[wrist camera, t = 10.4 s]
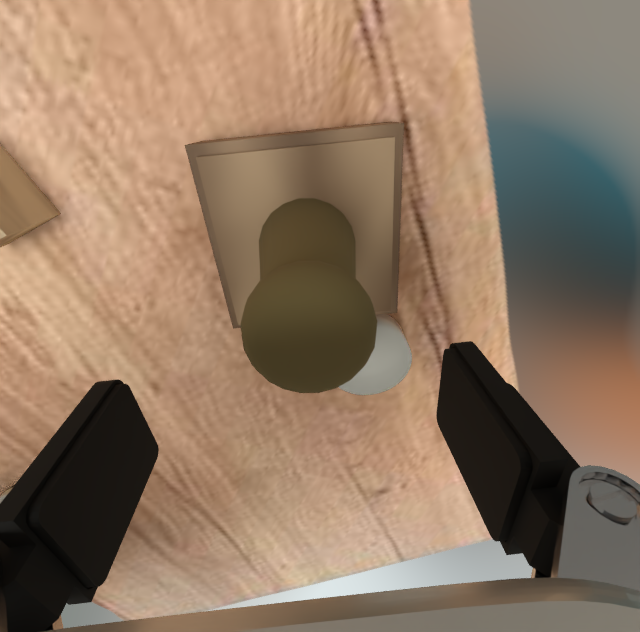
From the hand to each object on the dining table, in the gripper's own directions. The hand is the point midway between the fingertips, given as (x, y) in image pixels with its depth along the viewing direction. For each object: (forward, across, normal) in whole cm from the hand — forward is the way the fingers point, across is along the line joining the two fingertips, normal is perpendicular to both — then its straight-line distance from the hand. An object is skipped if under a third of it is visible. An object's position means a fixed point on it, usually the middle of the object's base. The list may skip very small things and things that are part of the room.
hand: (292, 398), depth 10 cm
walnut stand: (+17, -1, -1) cm, 17 cm away
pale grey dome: (+17, -5, +10) cm, 21 cm away
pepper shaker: (+13, -1, 0) cm, 13 cm away
